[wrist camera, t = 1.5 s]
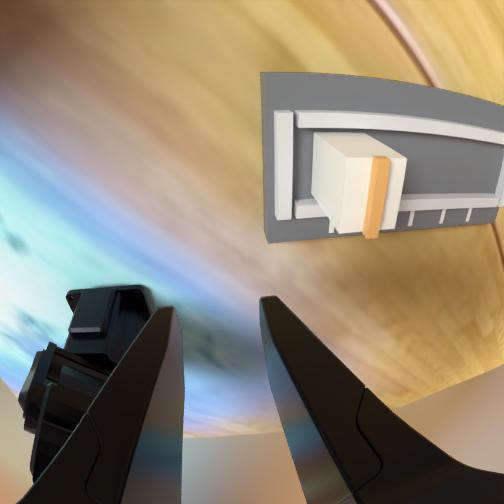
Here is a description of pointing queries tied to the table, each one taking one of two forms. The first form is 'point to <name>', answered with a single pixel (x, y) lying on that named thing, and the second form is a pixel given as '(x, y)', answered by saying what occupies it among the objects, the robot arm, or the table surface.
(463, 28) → the table surface
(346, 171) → the fader knob
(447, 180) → the fader console
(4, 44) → the table surface
